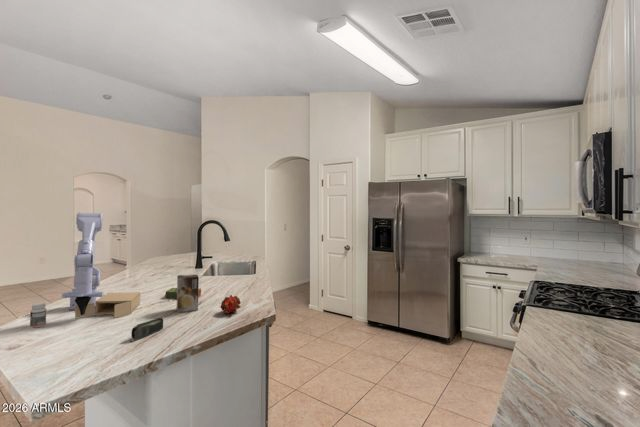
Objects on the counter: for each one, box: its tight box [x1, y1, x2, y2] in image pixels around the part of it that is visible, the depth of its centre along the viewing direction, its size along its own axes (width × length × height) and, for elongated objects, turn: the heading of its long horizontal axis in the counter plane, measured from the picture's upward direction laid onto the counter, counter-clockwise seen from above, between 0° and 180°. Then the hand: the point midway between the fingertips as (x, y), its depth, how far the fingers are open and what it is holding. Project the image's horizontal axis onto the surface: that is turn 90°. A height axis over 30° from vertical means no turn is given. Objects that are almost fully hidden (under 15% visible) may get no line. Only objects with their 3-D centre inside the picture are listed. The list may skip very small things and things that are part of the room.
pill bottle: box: [29, 302, 47, 328], centre depth 127 cm, size 5×5×8 cm
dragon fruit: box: [220, 294, 242, 315], centre depth 152 cm, size 8×8×12 cm
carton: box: [164, 287, 202, 300], centre depth 174 cm, size 8×16×4 cm, turn 92°
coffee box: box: [176, 273, 200, 313], centre depth 154 cm, size 9×6×16 cm
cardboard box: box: [94, 291, 141, 316], centre depth 149 cm, size 14×14×6 cm
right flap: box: [113, 302, 131, 319], centre depth 141 cm, size 7×1×5 cm, turn 150°
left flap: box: [74, 302, 95, 319], centre depth 138 cm, size 7×1×5 cm, turn 130°
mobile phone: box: [130, 317, 164, 343], centre depth 123 cm, size 5×3×15 cm
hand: (82, 314), depth 136 cm, fingers closed
